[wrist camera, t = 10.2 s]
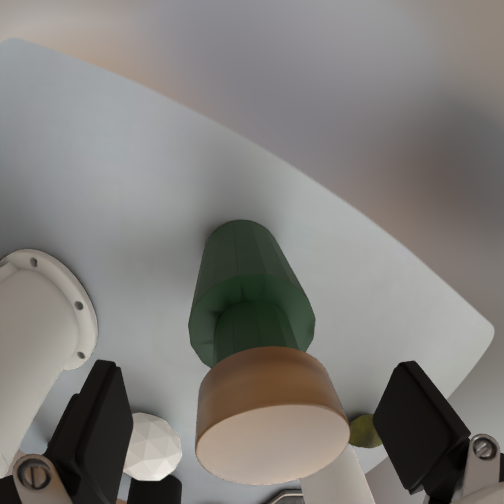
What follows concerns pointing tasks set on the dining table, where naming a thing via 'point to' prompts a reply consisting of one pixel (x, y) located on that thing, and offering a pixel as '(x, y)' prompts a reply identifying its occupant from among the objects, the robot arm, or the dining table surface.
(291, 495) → the cell phone
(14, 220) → the dining table surface
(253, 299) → the green bottle
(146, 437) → the geometric ball
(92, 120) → the dining table surface
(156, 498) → the wine bottle
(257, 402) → the stopper
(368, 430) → the lime
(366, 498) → the bottle
